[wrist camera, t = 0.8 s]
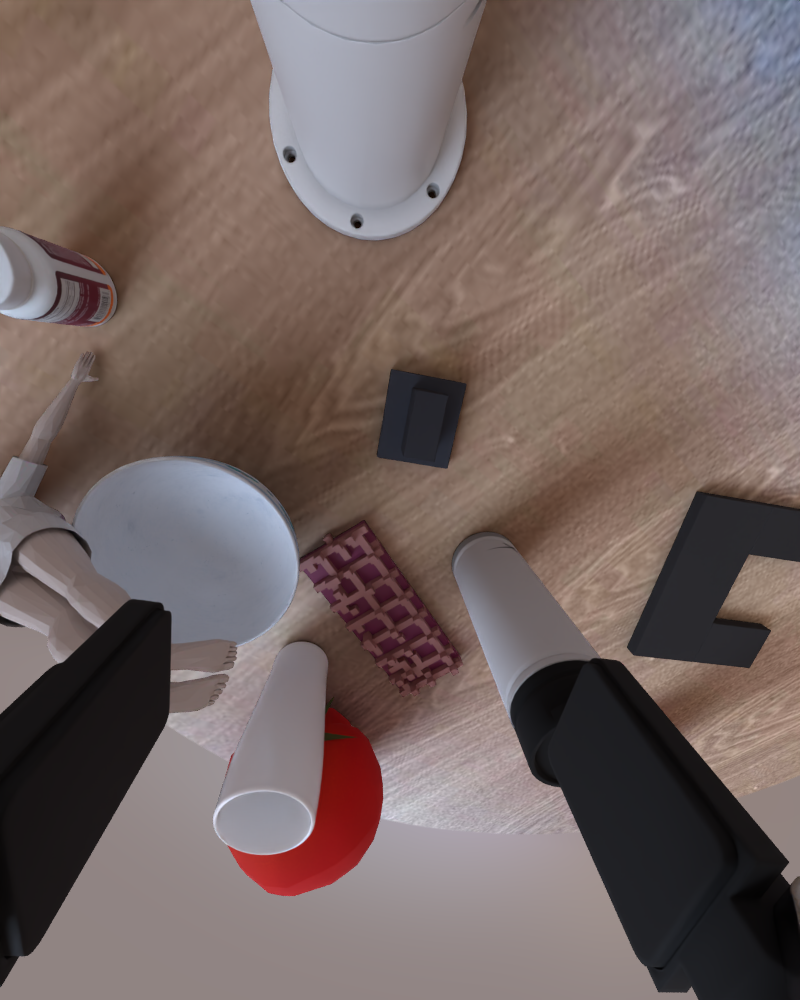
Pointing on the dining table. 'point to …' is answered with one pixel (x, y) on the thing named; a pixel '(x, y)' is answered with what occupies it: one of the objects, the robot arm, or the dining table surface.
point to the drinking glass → (278, 759)
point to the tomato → (328, 817)
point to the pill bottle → (52, 283)
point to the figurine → (75, 568)
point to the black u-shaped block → (713, 581)
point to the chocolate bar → (381, 608)
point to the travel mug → (521, 641)
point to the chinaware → (194, 545)
